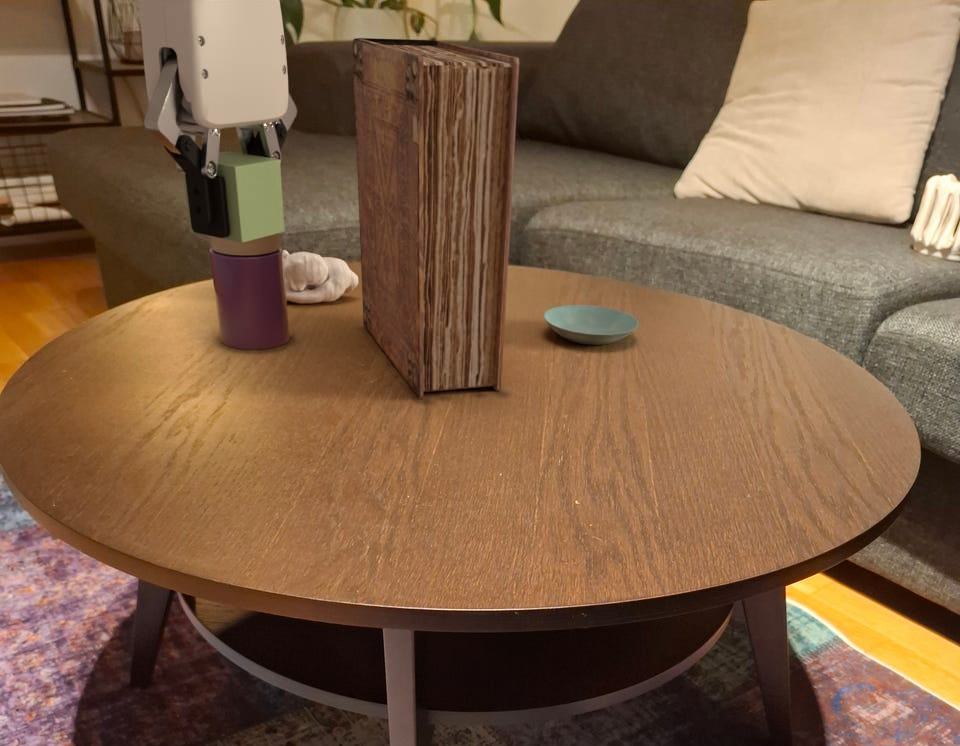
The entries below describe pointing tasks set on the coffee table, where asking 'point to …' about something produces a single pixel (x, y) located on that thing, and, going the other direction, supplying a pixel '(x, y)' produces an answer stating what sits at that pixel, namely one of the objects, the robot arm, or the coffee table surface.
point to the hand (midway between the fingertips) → (237, 225)
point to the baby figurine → (316, 277)
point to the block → (250, 196)
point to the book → (435, 206)
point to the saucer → (590, 323)
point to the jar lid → (246, 246)
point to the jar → (251, 299)
